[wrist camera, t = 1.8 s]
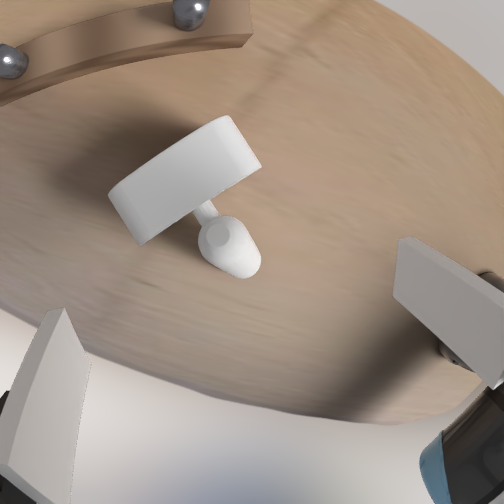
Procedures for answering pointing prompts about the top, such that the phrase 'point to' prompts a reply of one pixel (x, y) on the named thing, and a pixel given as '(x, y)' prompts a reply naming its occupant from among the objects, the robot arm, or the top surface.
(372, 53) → the top surface
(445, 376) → the top surface
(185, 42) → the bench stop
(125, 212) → the white knobbed block
